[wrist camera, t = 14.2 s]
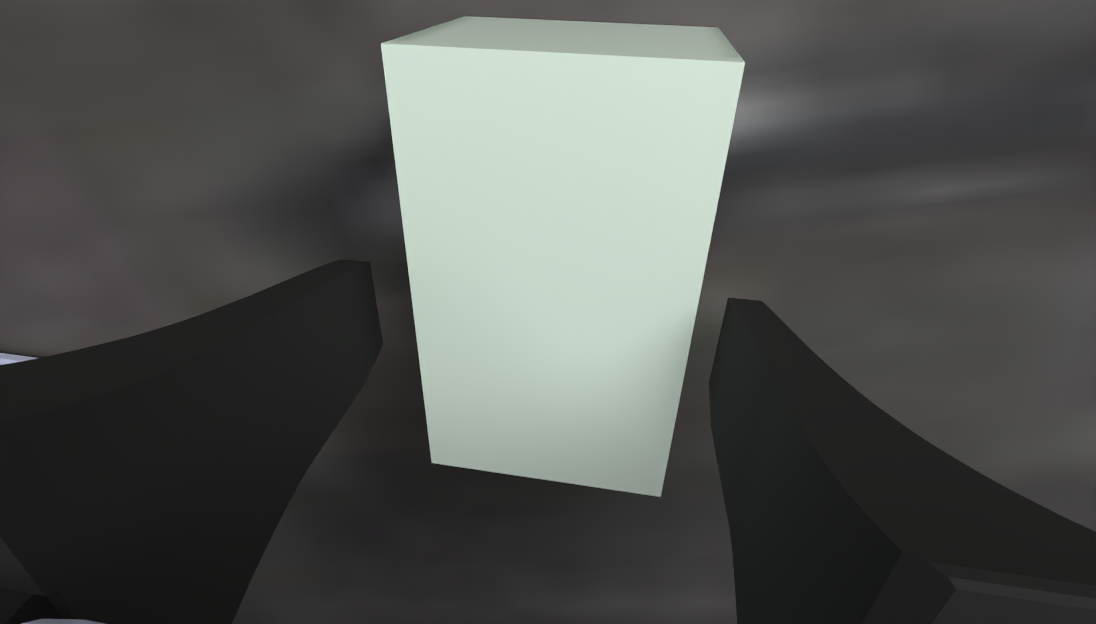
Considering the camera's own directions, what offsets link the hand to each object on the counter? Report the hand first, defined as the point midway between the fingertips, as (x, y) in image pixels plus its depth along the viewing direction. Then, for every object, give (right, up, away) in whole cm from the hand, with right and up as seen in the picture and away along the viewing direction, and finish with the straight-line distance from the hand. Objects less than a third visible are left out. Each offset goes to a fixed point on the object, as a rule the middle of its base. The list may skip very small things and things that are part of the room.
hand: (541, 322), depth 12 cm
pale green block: (+1, +3, +4) cm, 5 cm away
